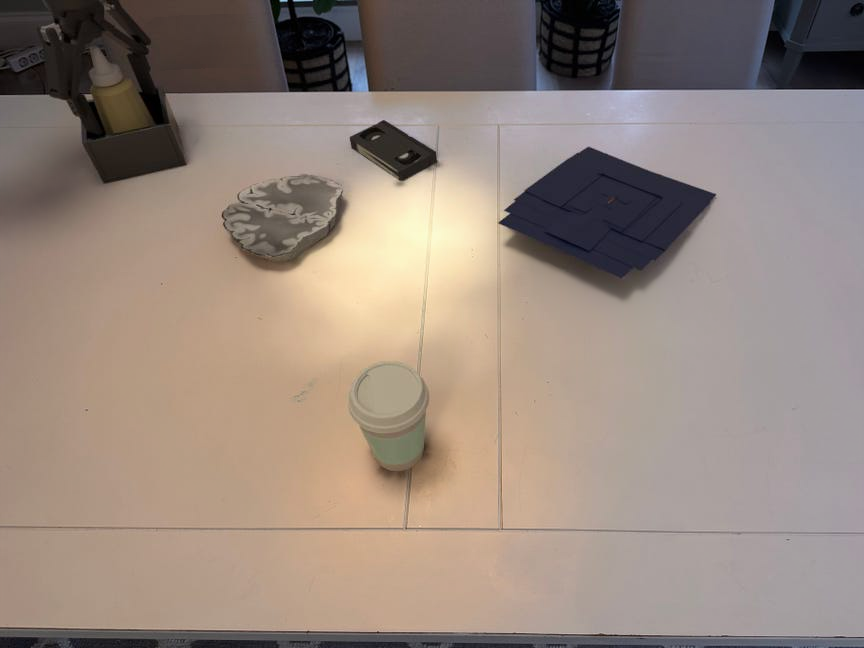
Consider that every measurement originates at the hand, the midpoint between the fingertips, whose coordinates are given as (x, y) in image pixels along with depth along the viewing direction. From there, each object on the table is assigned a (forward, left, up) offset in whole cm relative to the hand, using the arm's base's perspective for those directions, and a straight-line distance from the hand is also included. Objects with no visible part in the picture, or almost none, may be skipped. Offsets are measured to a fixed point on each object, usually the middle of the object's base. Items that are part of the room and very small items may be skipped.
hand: (123, 111), depth 112 cm
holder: (0, 0, -8) cm, 8 cm away
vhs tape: (+41, -18, -8) cm, 45 cm away
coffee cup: (+23, -76, -8) cm, 80 cm away
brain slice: (+19, -30, -8) cm, 36 cm away
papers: (+66, -48, -8) cm, 82 cm away
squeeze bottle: (0, 0, -7) cm, 7 cm away
